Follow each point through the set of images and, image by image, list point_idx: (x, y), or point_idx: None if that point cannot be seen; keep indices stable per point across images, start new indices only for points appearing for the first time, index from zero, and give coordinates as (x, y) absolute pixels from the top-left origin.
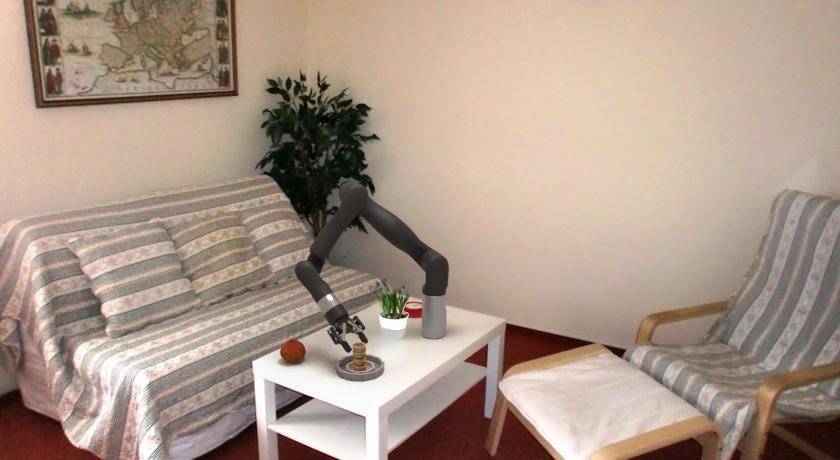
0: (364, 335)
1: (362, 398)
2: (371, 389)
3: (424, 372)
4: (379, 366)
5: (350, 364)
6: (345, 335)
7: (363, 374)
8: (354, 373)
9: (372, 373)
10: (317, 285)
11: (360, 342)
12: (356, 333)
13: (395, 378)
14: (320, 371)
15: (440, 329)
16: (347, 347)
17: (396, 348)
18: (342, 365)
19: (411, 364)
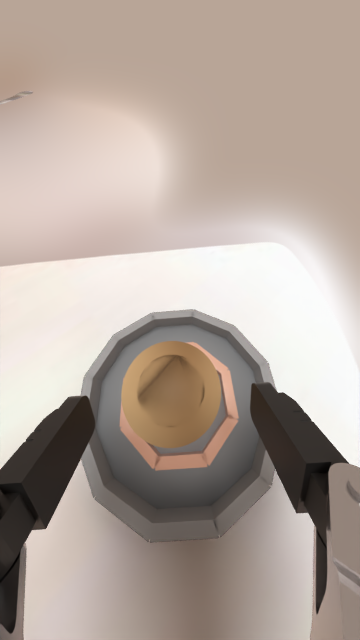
0: (30, 443)
1: (288, 275)
2: (241, 289)
3: (88, 260)
4: (123, 356)
5: (187, 453)
6: (334, 563)
7: (230, 324)
8: (250, 352)
9: (199, 313)
10: None
11: (133, 411)
12: (14, 586)
13: (154, 285)
14: None
15: None
16: (292, 409)
17: None
18: (205, 496)
19: (58, 305)
